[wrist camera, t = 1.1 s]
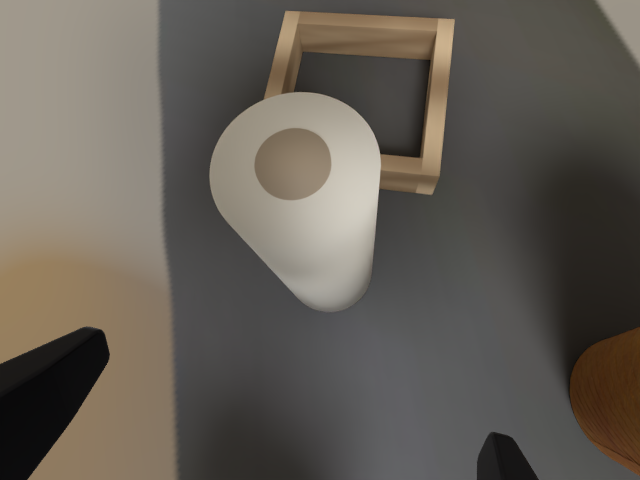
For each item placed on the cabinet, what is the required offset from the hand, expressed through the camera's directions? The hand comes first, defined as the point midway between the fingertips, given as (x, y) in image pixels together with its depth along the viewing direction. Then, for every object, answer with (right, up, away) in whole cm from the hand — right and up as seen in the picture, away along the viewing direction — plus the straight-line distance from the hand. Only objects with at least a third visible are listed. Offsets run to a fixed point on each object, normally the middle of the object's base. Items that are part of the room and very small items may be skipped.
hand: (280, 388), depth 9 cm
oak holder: (+3, +12, +18) cm, 22 cm away
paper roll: (+1, +2, +15) cm, 15 cm away
